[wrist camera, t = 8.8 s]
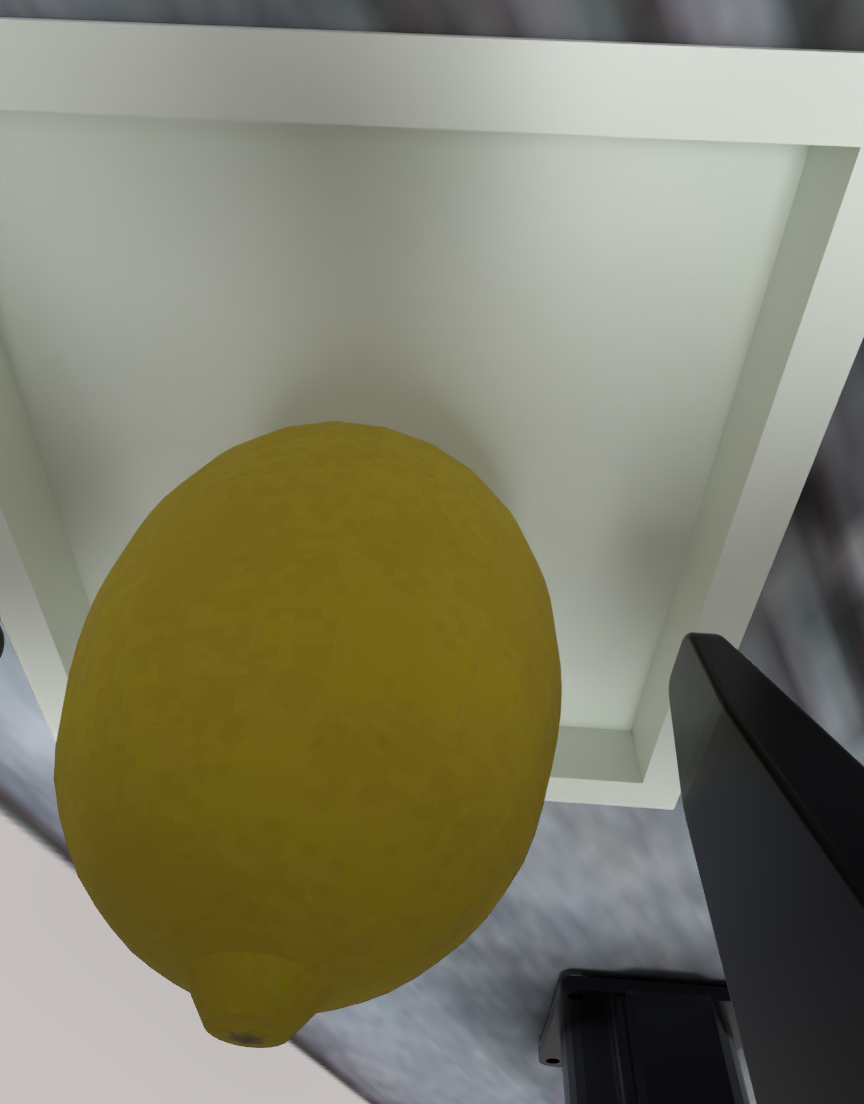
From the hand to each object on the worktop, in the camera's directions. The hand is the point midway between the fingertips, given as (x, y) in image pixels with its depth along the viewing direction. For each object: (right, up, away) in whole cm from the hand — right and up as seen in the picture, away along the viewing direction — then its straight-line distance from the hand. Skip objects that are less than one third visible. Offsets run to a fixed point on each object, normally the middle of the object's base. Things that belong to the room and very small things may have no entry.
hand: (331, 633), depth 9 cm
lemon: (0, +2, +3) cm, 4 cm away
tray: (0, +2, +3) cm, 4 cm away
